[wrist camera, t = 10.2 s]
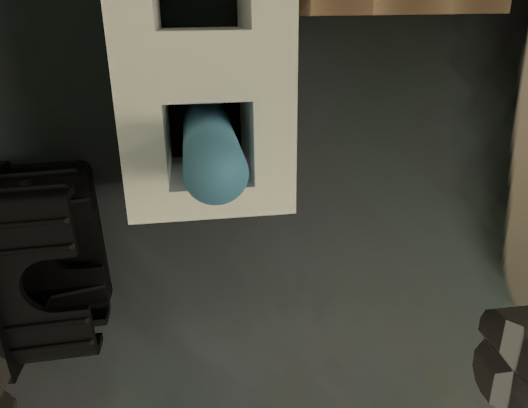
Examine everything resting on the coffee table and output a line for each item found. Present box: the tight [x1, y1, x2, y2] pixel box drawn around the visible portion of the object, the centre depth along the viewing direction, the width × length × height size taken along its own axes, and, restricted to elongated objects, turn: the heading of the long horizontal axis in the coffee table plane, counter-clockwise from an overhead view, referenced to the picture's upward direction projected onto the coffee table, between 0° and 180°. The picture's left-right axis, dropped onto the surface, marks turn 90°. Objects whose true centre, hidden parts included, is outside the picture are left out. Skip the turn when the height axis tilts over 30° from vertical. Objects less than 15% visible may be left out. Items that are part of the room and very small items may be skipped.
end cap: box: [0, 160, 112, 384], centre depth 26 cm, size 10×7×7 cm
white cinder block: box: [101, 0, 299, 225], centre depth 24 cm, size 8×14×6 cm, turn 1°
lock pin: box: [183, 103, 249, 205], centre depth 23 cm, size 2×2×10 cm
